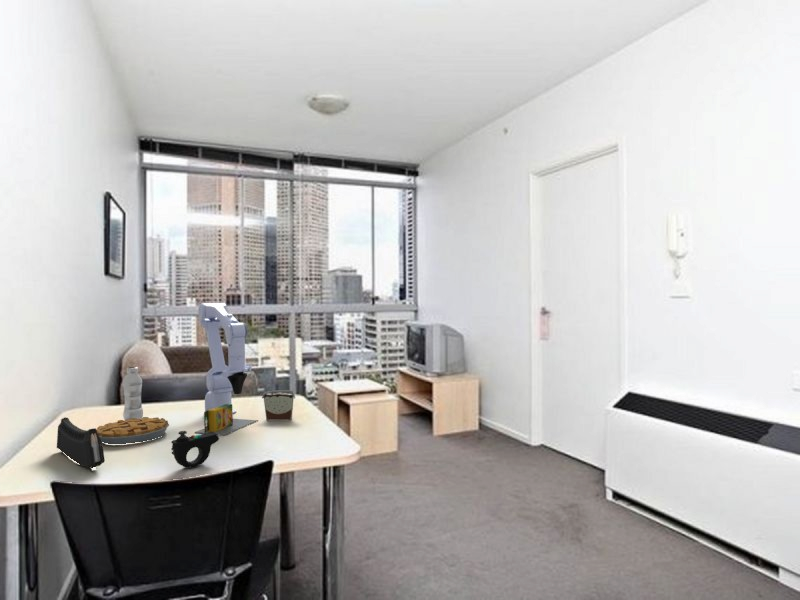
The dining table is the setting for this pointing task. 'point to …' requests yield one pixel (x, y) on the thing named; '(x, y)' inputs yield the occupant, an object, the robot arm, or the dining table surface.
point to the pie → (132, 430)
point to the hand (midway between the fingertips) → (237, 393)
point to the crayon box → (218, 418)
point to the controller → (187, 443)
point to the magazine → (80, 444)
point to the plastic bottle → (132, 394)
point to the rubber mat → (231, 427)
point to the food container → (278, 404)
